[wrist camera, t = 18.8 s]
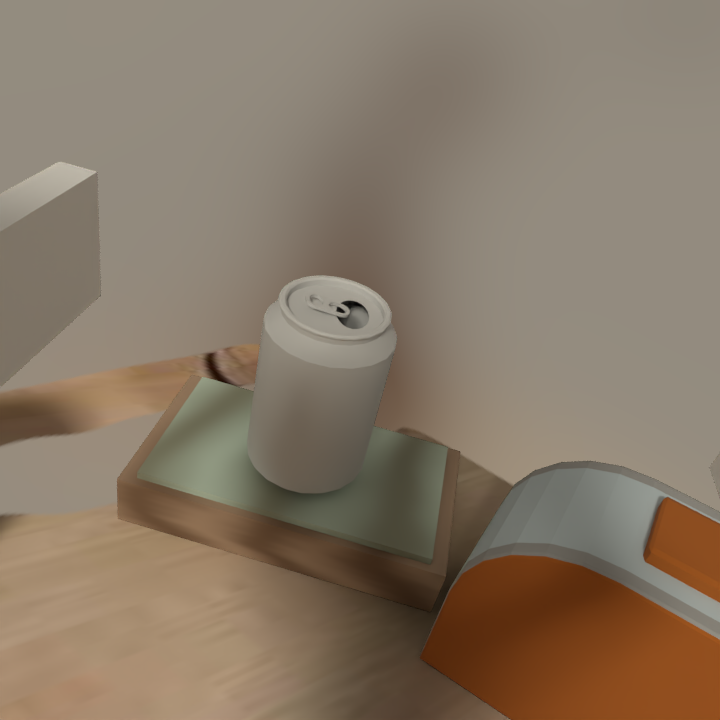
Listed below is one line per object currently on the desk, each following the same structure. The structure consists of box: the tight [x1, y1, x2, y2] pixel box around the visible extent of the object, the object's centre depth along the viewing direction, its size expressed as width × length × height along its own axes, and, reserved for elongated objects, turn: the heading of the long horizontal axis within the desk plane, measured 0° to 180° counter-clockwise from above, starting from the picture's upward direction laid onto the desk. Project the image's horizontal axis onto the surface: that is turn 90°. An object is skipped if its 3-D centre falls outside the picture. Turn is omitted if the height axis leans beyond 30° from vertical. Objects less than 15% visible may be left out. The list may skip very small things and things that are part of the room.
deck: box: [117, 375, 460, 612], centre depth 45 cm, size 20×11×4 cm, turn 78°
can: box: [247, 275, 397, 493], centre depth 40 cm, size 8×8×12 cm
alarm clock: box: [419, 461, 720, 720], centre depth 35 cm, size 15×8×14 cm, turn 58°
